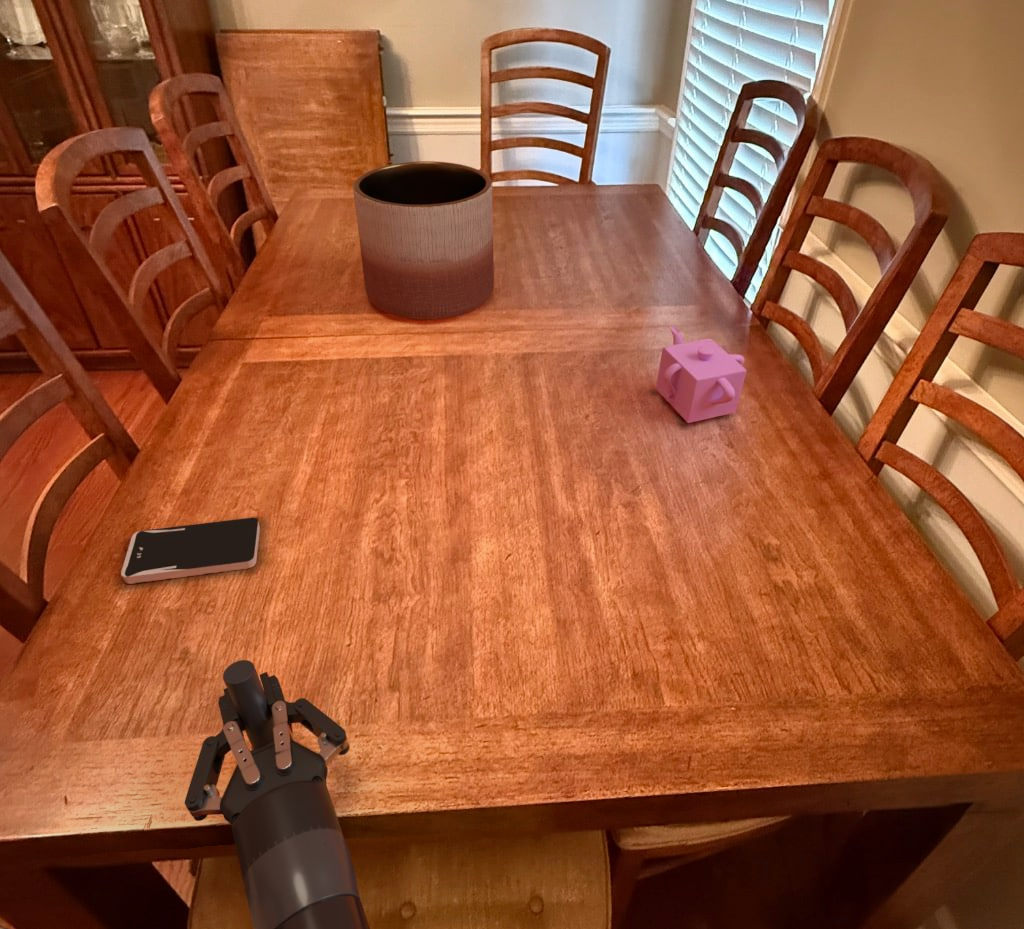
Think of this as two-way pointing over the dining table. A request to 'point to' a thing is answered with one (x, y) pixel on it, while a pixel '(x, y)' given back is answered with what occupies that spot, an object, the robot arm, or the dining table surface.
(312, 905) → the robot arm
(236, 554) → the smartphone
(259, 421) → the dining table surface
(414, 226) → the planter
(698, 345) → the teapot
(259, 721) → the dark grey cylinder
